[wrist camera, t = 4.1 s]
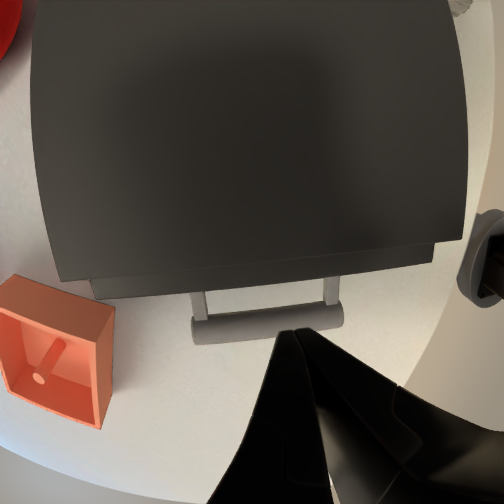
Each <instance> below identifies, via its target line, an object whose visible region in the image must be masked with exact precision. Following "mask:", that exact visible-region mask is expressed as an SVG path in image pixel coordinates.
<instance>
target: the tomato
mask: <svg viewBox="0 0 504 504" xmlns="http://www.w3.org/2000/svg"><path fill="white" fill-rule="evenodd" d="M22 5H23V0H0V61H1V59H2V58H3V56H4V55H5V53H6V52H7V50H8V48H9V46H10V44H11V42H12V40H13V38H14V36H15V33H16V30H17V27H18V24H19V22H20V19H21V12H22Z"/></svg>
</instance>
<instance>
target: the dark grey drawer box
mask: <svg viewBox="0 0 504 504" xmlns="http://www.w3.org/2000/svg"><path fill="white" fill-rule="evenodd" d="M30 106H31V128H32V141H33V151H34V160H35V168H36V176H37V182H38V189H39V195H40V200H41V206H42V211H43V216H44V220H45V225H46V229H47V234H48V238H49V242H50V246H51V250H52V254H53V257H54V261H55V265H56V268H57V271H58V275H59V278H60V281H61V282H66V281H78V280H89V279H101V278H112V277H123V276H133V275H144V274H155V273H165V272H175V271H186V270H196V269H206V268H216V267H226V266H235V265H245V264H254V263H264V262H273V261H283V260H292V259H301V258H310V257H319V256H328V255H337V254H346V253H355V252H363V251H372V250H380V249H389V248H397V247H406V246H414V245H422V244H430V243H438V242H446V241H454V240H461V239H462V235H463V227H464V218H465V208H466V196H467V179H468V123H467V106H466V95H465V85H464V77H463V69H462V63H461V56H460V51H459V45H458V40H457V35H456V31H455V26H454V22H453V18H452V14H451V10H450V6H449V3H448V0H38V3H37V9H36V15H35V23H34V31H33V41H32V53H31V74H30Z"/></svg>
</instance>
